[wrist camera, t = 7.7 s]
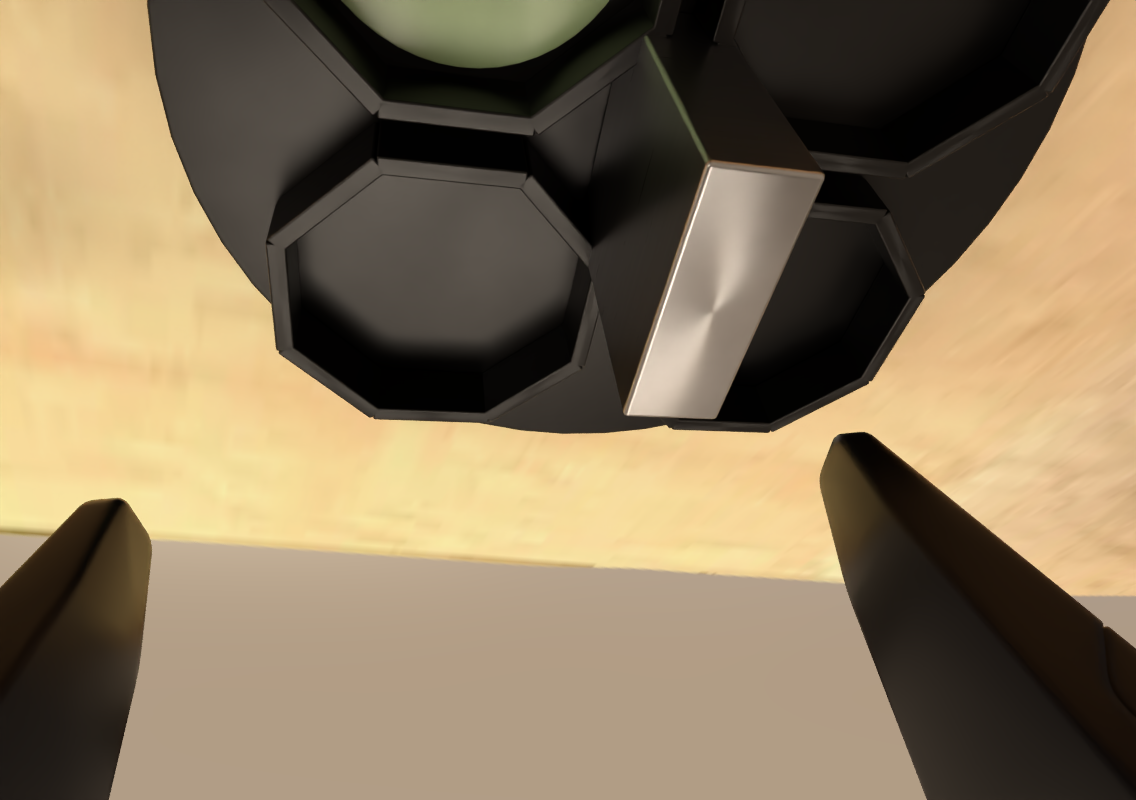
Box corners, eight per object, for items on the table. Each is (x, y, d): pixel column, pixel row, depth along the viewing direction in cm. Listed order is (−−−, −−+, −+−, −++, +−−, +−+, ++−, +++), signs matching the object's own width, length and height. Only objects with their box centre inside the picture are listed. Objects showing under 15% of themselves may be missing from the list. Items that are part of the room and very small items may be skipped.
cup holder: (539, 495, 26) (563, 689, 22) (-71, 28, 14) (-321, 238, 9) (1135, 178, 20) (1354, 356, 15) (955, -1158, 8) (1758, -2326, 3)
